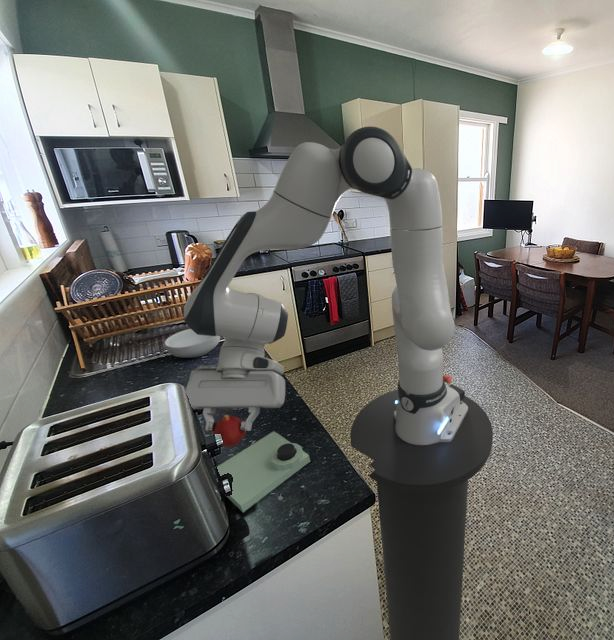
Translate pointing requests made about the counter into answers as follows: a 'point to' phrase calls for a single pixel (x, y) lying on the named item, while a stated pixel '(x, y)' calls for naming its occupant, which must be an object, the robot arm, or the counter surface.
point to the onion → (230, 430)
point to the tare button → (286, 452)
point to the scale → (260, 469)
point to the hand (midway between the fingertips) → (228, 430)
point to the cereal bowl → (190, 344)
